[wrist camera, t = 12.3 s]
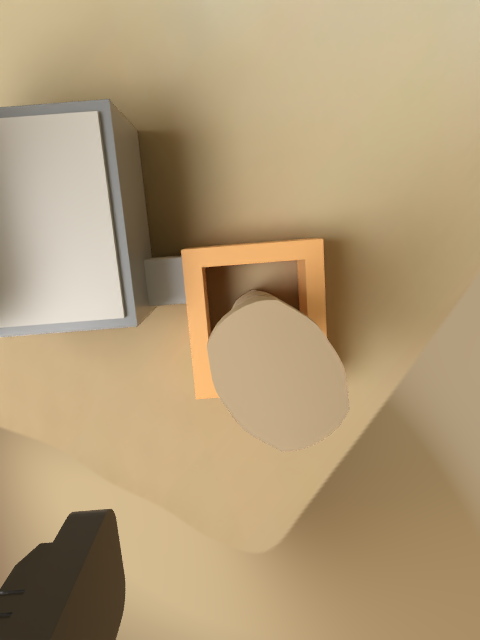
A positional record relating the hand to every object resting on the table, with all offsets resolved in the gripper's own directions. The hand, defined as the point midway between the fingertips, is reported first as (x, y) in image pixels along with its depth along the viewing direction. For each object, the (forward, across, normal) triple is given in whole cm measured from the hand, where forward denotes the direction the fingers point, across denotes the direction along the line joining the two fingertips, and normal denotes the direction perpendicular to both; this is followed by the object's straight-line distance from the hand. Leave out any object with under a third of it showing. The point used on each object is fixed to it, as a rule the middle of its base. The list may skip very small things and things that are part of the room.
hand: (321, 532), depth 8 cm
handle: (+24, 0, 0) cm, 24 cm away
